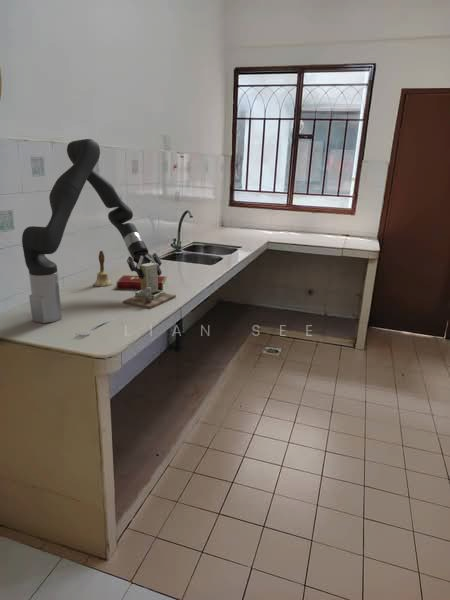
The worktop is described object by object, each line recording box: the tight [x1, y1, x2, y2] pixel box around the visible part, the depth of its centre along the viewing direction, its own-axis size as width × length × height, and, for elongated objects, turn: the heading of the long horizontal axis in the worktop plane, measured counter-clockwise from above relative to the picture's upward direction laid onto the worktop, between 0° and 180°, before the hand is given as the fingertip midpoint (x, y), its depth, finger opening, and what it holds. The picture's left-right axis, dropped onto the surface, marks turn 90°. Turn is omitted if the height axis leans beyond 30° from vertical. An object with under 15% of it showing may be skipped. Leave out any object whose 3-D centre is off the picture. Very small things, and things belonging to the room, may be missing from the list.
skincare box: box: [140, 261, 158, 293], centre depth 179 cm, size 6×4×12 cm
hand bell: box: [93, 250, 113, 287], centre depth 198 cm, size 8×8×16 cm
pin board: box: [122, 287, 177, 309], centre depth 177 cm, size 18×14×7 cm
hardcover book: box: [116, 274, 168, 291], centre depth 198 cm, size 12×21×4 cm, turn 89°
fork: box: [76, 317, 116, 336], centre depth 148 cm, size 3×24×2 cm, turn 162°
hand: (151, 276), depth 178 cm, fingers open, 8 cm apart
